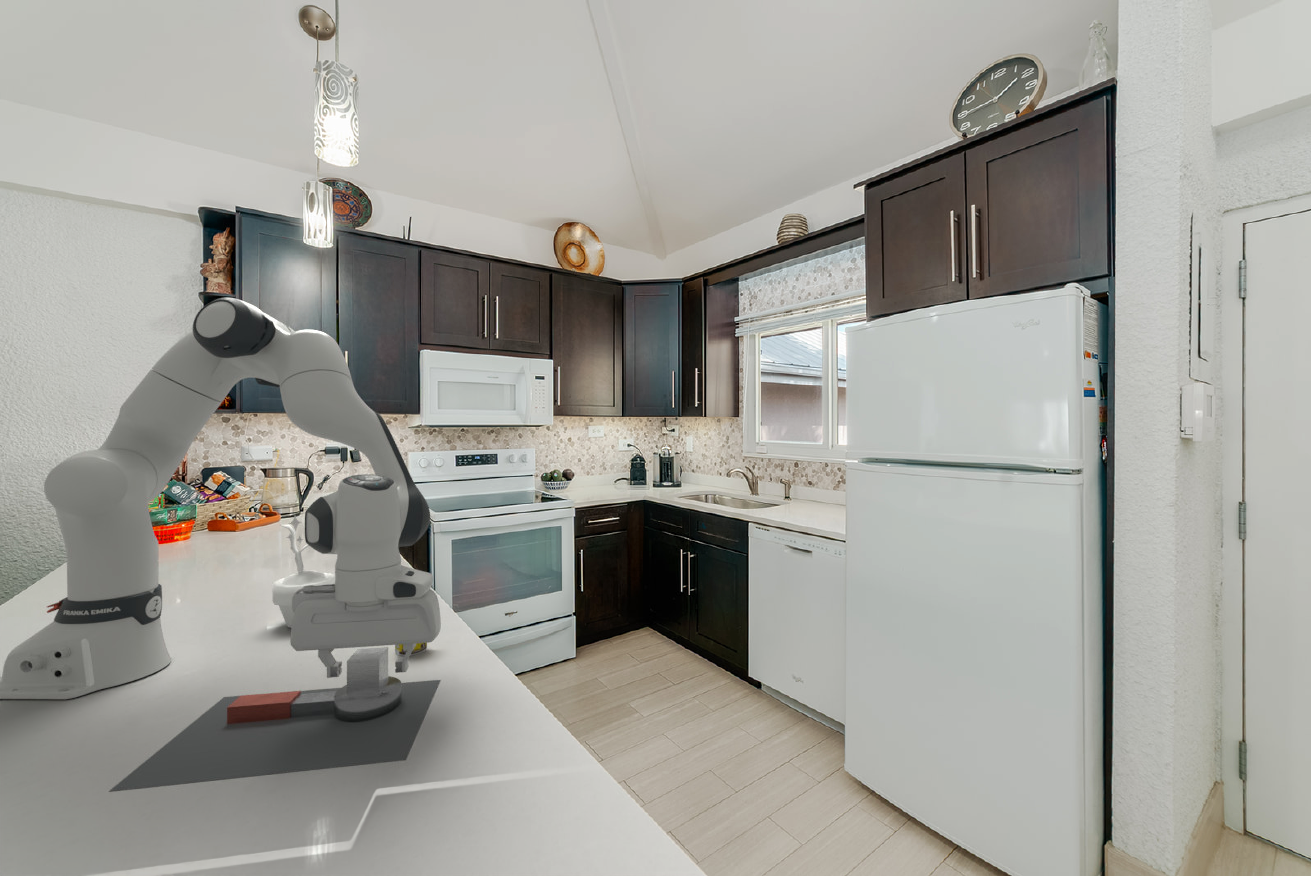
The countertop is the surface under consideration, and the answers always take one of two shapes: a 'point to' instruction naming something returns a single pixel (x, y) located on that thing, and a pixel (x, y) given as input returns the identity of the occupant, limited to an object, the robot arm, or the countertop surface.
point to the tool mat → (282, 743)
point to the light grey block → (367, 672)
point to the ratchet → (315, 705)
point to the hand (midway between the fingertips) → (368, 673)
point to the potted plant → (296, 579)
